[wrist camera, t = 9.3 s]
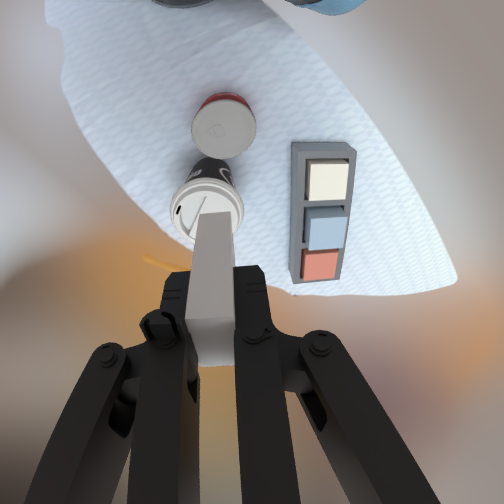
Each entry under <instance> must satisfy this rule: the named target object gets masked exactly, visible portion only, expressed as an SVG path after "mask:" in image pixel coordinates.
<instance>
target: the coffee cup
mask: <svg viewBox="0 0 504 504" xmlns="http://www.w3.org/2000/svg"><path fill="white" fill-rule="evenodd" d="M228 211H231V222H232V232H233V235H234V234H235V233H236V232H237V230H238V229H239V227H240V225H241V223H242V221H243V217H244V205H243V202H242V199H241V197H240V195H239V194H238V192H237V191H236V190H235V186H234V183H233V179H232V175H231V171H230V169H229V167H228V165H227V164H226V163H225V162H224V161H222V160H221V159H215V158H211V157H208V158H204V159H202V160H200V161H199V162H198V163H197V164H196V165H195V166H194V168H193V170H192V171H191V173H190V175H189V177H188V178H187V180H186V182H185V184H184V185H182V186H181V187H180V188H179V189H178V190H177V191H176V193H175V194H174V196H173V198H172V200H171V204H170V216H171V220H172V223H173V225H174V227H175V229H176V230H177V232H178V233H179V234H180V235H181V236H182V237H183V238H184V239H185V240H186V241H188V242H189V243H191V244H194V245H195V238H196V231H197V225H198V219H199V214H205V213H216V212H228Z"/></svg>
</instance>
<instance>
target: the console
mask: <svg viewBox="0 0 504 504" xmlns="http://www.w3.org/2000/svg"><path fill="white" fill-rule="evenodd" d="M356 156H357V151H356V150H355V149H353V148H352V147H351V146H350V145H348V144H347V143H346V142H293V143H291V212H290V247H289V271H290V274H291V278H292V282H293V284H300V283H310V282H320V281H330V280H339V279H340V274H341V268H342V263H343V257H344V251H345V244H346V238H347V231H348V225H349V217H350V210H351V202H352V194H353V186H354V176H355V167H356ZM318 158H343V159H344V160H345V161H346V162H347V163H348V164H349V168H348V179H347V188H346V198H345V199H341V200H317V201H309V200H308V198H307V196H306V194H305V163H306V159H318ZM335 205H340V206H341V208H342V209H343V211H344V212H345V214H346V215H347V224H346V231H345V238H344V244H343V248H336V249H337V251H338V258H337V264H336V270H335V276H334V278H328V279H319V280H308V281H303V277H302V274H301V271H300V265H301V250H302V249H304V248H308V247H307V245H306V242H305V239H304V224H305V207H314V206H335Z"/></svg>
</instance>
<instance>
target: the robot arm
mask: <svg viewBox="0 0 504 504" xmlns="http://www.w3.org/2000/svg"><path fill="white" fill-rule="evenodd" d="M152 1H154V2H156V3H158V4H160V5H163V6H166V7H171V8H190V7H196V6H200V5H203V4H206V3H208V2H211V1H213V0H152ZM285 1H288V2H291V3H292V4H294V5H295V6H299V7H303V8H308V9H311V10H314V11H316V12H319V13H321V14H325V15H341V14H344V13H347V12H349V11H351V10H353V9H355V8H356V7H358V6H359V5H361V4H362V3H364V2H365V1H366V0H285ZM163 291H164V292H163V295H162V300H161V305H160V309H157V310H153V311H152V312H150V313H147V314H146V315H145V316H144V317H143V318H142V320H141V322H140V324H139V325H140V327H141V329H142V332H143V333H144V336H145V338H146V340H147V341H145V342H144V343H142V344H139V345H136V346H133V347H129V348H126V349H123V347H122V346H121V345H119V344H117V343H110V342H109V343H106V344H102V345H101V346H99V347H98V348H97V349H96V350H95V351H94V352H93V354H92V356H91V357H90V359H89V361H88V363H87V365H86V367H85V368H84V370H83V372H82V374H81V376H80V378H79V380H78V382H77V384H76V385H75V387H74V389H73V391H72V393H71V395H70V397H69V399H68V401H67V403H66V405H65V407H64V409H63V411H62V414H61V416H60V418H59V420H58V422H57V424H56V426H55V429H54V431H53V433H52V435H51V437H50V439H49V442H48V444H47V446H46V448H45V451H44V453H43V455H42V458H41V460H40V462H39V465H38V467H37V470H36V472H35V475H34V477H33V480H32V483H31V485H30V488H29V491H28V494H27V496H26V499H25V502H24V504H111V502H112V499H113V497H114V493H115V491H116V488H117V485H118V482H119V479H120V476H121V473H122V471H123V468H124V465H125V462H126V460H127V457H128V454H129V451H130V449H131V456H130V466H129V479H128V495H127V504H200V484H199V483H200V481H199V407H200V406H199V405H200V377H199V373H198V362H199V365H200V367H208V366H227V365H235V386H236V407H237V425H238V442H239V461H240V475H241V491H242V504H301V502H300V495H299V488H298V481H297V473H296V466H295V459H294V452H293V446H292V439H291V432H290V425H289V418H288V412H287V405H286V398H285V392H284V391H289V392H295V393H296V395H297V397H298V399H299V401H300V403H301V405H302V407H303V409H304V411H305V414H306V416H307V418H308V420H309V422H310V424H311V426H312V428H313V430H314V432H315V434H316V436H317V438H318V440H319V442H320V444H321V446H322V448H323V450H324V452H325V454H326V456H327V458H328V460H329V462H330V464H331V466H332V468H333V470H334V472H335V474H336V476H337V478H338V480H339V482H340V484H341V486H342V488H343V490H344V492H345V494H346V496H347V498H348V500H349V502H350V504H441V503H440V502H439V500H438V498H437V497H436V495H435V493H434V491H433V490H432V488H431V486H430V484H429V483H428V481H427V479H426V478H425V476H424V474H423V473H422V471H421V469H420V468H419V466H418V464H417V463H416V461H415V459H414V458H413V456H412V454H411V453H410V451H409V449H408V448H407V446H406V444H405V443H404V441H403V439H402V438H401V436H400V434H399V433H398V431H397V430H396V428H395V426H394V425H393V423H392V421H391V420H390V418H389V417H388V415H387V414H386V412H385V410H384V409H383V407H382V405H381V404H380V402H379V401H378V399H377V397H376V396H375V394H374V393H373V391H372V389H371V388H370V386H369V385H368V383H367V382H366V380H365V378H364V377H363V375H362V374H361V372H360V371H359V369H358V367H357V366H356V365H355V363H354V361H353V360H352V358H351V357H350V355H349V353H348V352H347V350H346V349H345V347H344V346H343V344H342V343H341V341H340V340H339V339H338V338H337V336H336V335H334V334H333V333H331V332H329V331H323V330H316V331H311V332H309V333H307V334H306V335H305V336H304V337H303V338H302V337H296V336H290V335H287V334H284V333H282V332H280V331H279V330H278V329H277V328H275V326H274V325H273V322H272V319H271V313H270V307H269V300H268V294H267V288H266V281H265V275H264V272H263V271H262V270H261V268H260V267H259V266H258V265H252V266H239V267H235V253H234V243H233V232H232V222H231V211H228V212H216V213H205V214H199V219H198V225H197V231H196V238H195V245H194V252H193V259H192V266H191V271H184V272H172V273H171V274H170V276H169V277H168V278H167V280H166V281H165V285H164V290H163Z"/></svg>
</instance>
